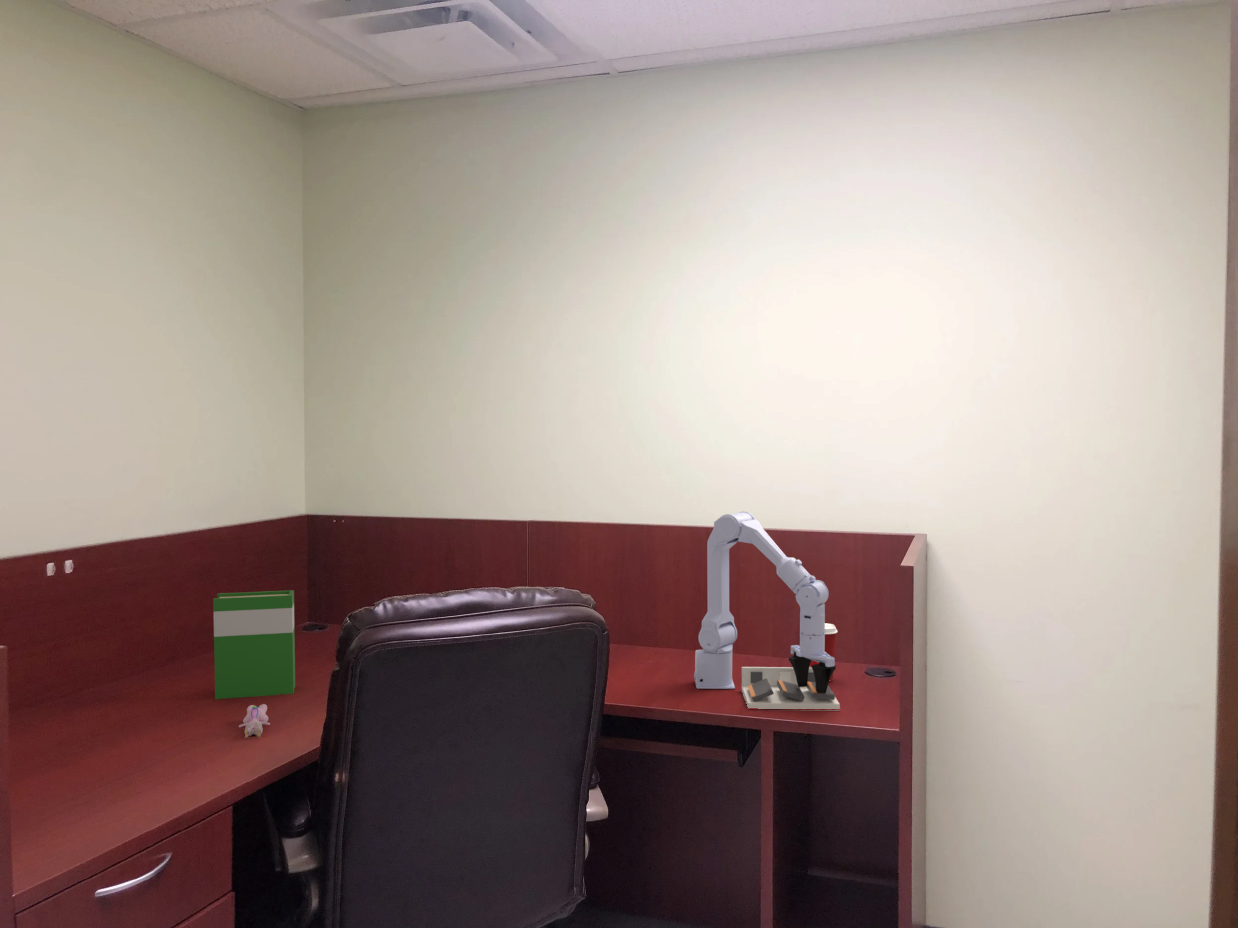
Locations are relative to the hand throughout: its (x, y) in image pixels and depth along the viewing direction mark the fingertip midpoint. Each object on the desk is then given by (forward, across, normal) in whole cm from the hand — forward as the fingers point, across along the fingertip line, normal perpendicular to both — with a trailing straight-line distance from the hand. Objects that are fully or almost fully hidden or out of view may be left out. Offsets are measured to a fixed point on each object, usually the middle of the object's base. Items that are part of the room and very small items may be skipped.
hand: (811, 690), depth 228 cm
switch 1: (0, -6, -11) cm, 12 cm away
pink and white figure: (+3, -35, -120) cm, 125 cm away
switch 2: (0, -2, -4) cm, 5 cm away
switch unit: (+3, -3, -4) cm, 6 cm away
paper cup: (+3, -15, +14) cm, 21 cm away
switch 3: (0, +1, +2) cm, 2 cm away
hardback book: (+3, -64, -118) cm, 134 cm away
